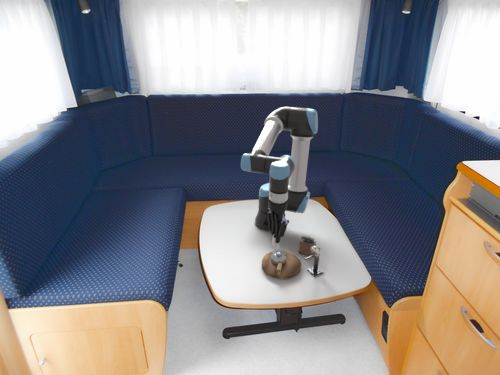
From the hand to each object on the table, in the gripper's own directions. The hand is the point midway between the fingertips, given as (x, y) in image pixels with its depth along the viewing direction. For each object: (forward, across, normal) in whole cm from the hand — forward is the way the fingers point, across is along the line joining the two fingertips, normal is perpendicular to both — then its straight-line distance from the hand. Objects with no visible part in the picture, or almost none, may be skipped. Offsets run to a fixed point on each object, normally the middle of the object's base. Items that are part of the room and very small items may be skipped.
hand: (275, 247), depth 149 cm
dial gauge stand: (+15, +9, +15) cm, 23 cm away
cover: (+13, -4, +5) cm, 14 cm away
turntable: (+15, -2, +6) cm, 16 cm away
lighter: (+16, -4, +22) cm, 27 cm away
